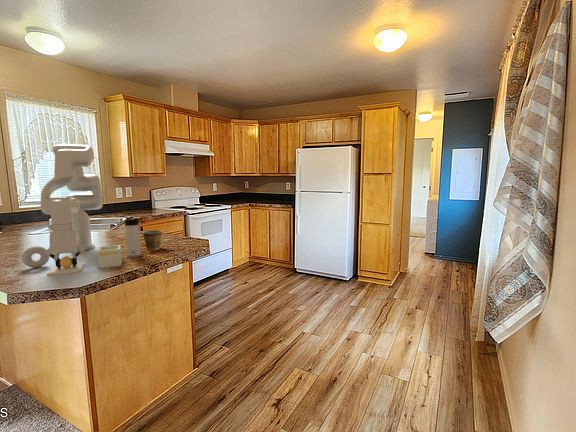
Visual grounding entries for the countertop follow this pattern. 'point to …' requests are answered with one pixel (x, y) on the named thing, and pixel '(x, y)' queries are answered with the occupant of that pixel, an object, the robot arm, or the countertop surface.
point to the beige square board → (66, 269)
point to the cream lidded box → (109, 256)
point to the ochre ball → (66, 261)
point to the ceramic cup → (152, 239)
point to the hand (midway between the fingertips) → (66, 266)
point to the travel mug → (132, 238)
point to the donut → (35, 263)
